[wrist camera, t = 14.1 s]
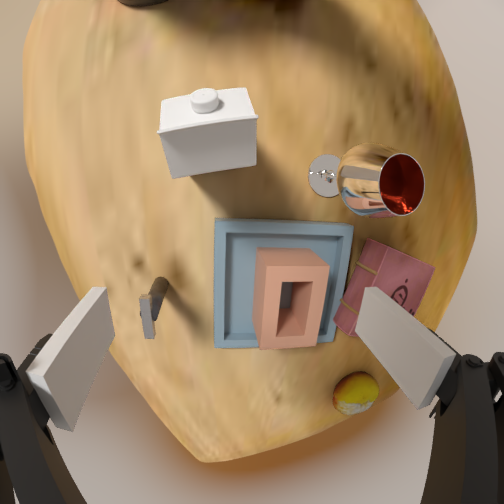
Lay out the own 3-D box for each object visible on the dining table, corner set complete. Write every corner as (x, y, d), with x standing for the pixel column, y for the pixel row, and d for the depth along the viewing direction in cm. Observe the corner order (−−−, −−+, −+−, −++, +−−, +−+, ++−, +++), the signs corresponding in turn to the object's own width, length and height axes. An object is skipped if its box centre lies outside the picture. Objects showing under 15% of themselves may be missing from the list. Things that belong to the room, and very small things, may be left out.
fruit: (317, 400, 52) (336, 418, 44) (344, 360, 53) (366, 374, 45) (348, 411, 55) (367, 427, 47) (372, 375, 56) (394, 387, 48)
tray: (214, 217, 38) (215, 221, 36) (346, 223, 41) (353, 226, 39) (214, 339, 44) (214, 347, 42) (327, 334, 47) (332, 341, 44)
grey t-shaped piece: (152, 266, 39) (135, 298, 29) (167, 266, 39) (153, 299, 29) (155, 299, 40) (140, 338, 30) (169, 299, 41) (158, 339, 31)
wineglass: (292, 188, 38) (352, 205, 21) (314, 138, 37) (385, 122, 20) (338, 211, 40) (413, 242, 23) (359, 164, 39) (442, 169, 22)
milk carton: (240, 167, 37) (265, 164, 19) (188, 175, 36) (163, 181, 18) (233, 117, 34) (251, 71, 16) (181, 125, 34) (151, 86, 16)
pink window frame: (298, 328, 45) (313, 356, 37) (251, 330, 44) (258, 360, 36) (309, 248, 41) (329, 266, 33) (256, 247, 40) (266, 266, 32)
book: (363, 235, 40) (384, 244, 35) (416, 258, 45) (435, 267, 40) (328, 319, 43) (344, 335, 38) (386, 326, 48) (402, 339, 43)
